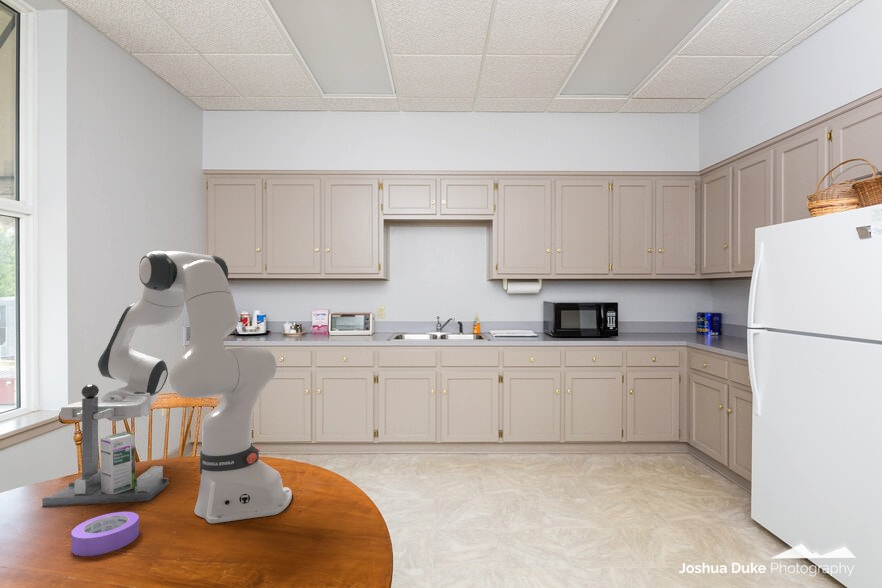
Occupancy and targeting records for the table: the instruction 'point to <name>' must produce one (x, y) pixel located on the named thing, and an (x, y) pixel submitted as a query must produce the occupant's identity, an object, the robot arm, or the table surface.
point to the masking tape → (104, 533)
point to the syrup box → (117, 463)
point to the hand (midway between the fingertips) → (87, 416)
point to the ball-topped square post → (89, 444)
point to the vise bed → (143, 491)
